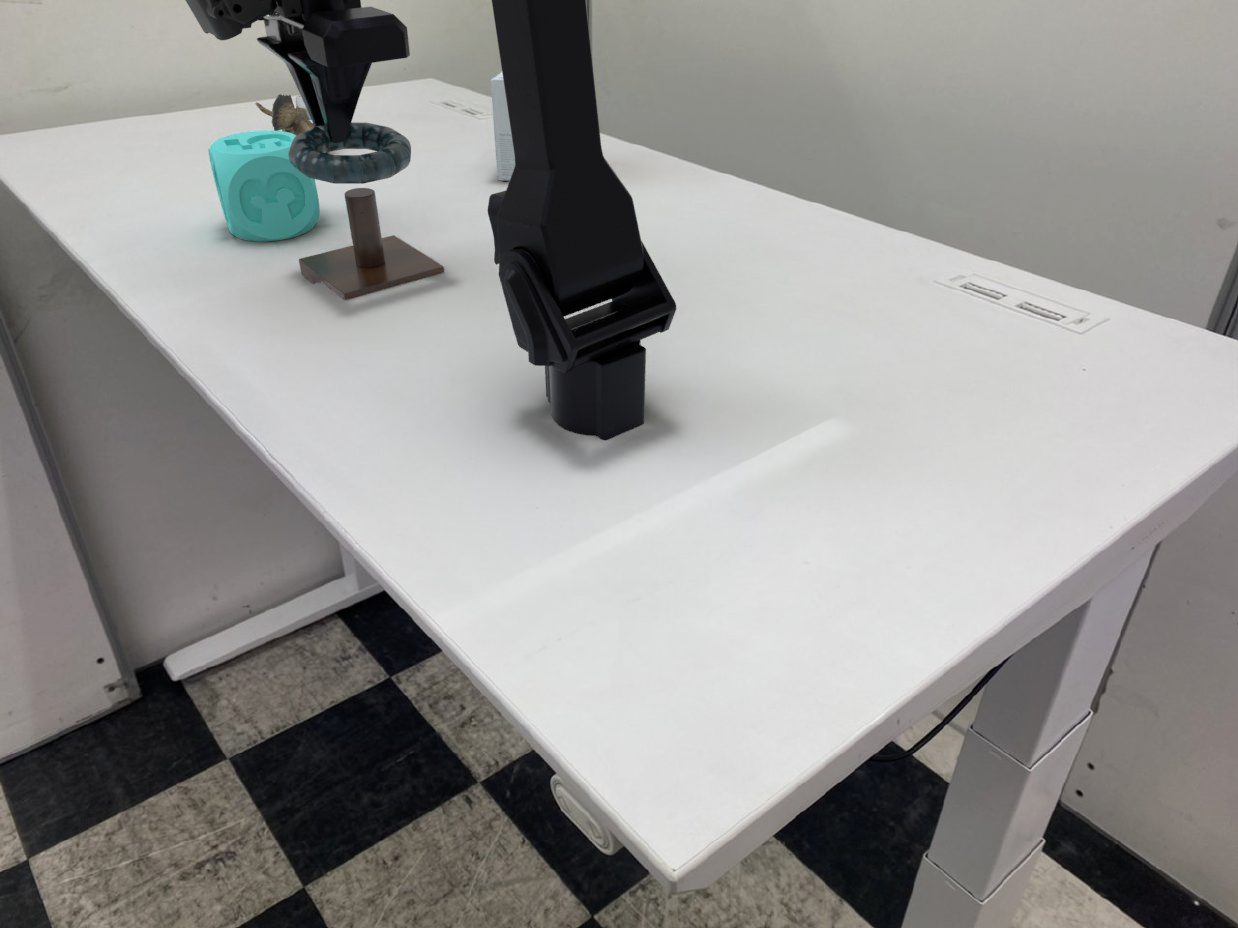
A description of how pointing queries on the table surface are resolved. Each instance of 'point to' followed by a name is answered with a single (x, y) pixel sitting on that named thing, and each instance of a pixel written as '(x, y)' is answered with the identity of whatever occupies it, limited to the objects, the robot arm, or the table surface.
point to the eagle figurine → (289, 115)
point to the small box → (502, 130)
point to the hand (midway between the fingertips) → (331, 138)
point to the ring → (351, 168)
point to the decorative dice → (262, 186)
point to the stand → (367, 255)
